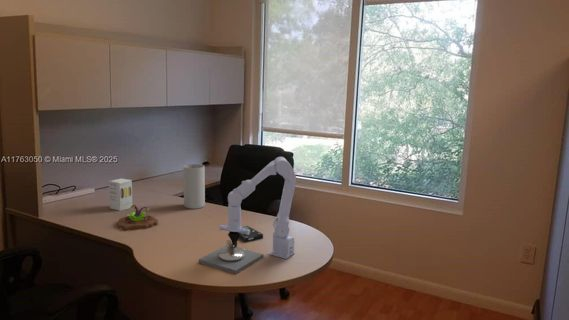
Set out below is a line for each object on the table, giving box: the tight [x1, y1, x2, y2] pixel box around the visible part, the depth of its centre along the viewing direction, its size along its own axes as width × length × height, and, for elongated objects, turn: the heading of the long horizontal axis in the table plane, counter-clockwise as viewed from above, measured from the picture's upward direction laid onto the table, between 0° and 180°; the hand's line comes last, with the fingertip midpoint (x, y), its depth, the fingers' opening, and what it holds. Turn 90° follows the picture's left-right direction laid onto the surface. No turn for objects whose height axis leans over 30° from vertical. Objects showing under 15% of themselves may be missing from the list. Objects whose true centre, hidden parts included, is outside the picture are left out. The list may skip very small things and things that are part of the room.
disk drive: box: [238, 225, 264, 243], centre depth 221 cm, size 10×3×15 cm
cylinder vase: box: [182, 163, 206, 210], centre depth 266 cm, size 12×12×25 cm
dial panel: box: [198, 245, 264, 275], centre depth 191 cm, size 20×20×2 cm
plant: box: [116, 204, 159, 232], centre depth 233 cm, size 20×20×11 cm
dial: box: [219, 239, 244, 262], centre depth 192 cm, size 14×11×5 cm
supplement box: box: [108, 177, 133, 212], centre depth 259 cm, size 10×9×17 cm
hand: (234, 247), depth 196 cm, fingers closed
